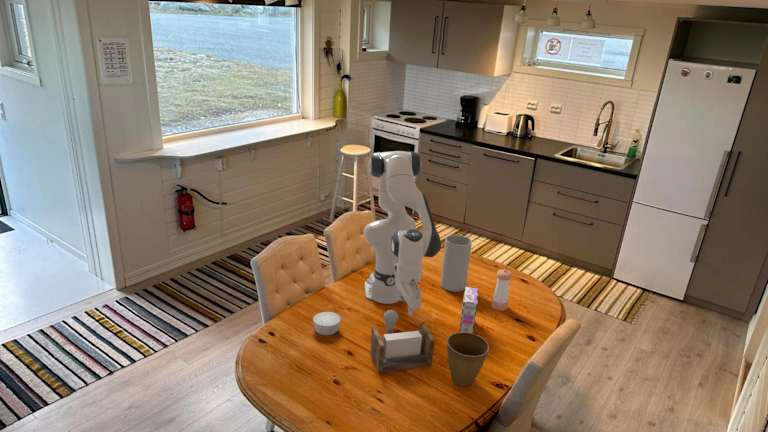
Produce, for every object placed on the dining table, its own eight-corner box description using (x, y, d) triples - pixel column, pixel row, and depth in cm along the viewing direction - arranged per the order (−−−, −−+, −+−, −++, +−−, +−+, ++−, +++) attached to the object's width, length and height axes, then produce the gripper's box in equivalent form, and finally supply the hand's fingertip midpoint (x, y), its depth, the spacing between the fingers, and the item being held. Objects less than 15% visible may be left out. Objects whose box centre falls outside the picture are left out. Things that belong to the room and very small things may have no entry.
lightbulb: (386, 339, 218) (388, 315, 214) (379, 331, 223) (381, 308, 219) (399, 336, 221) (401, 313, 217) (392, 328, 226) (394, 305, 222)
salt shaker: (506, 303, 252) (512, 266, 245) (508, 311, 245) (514, 274, 238) (490, 301, 252) (496, 265, 245) (492, 309, 246) (497, 272, 239)
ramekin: (307, 328, 222) (307, 317, 220) (327, 319, 229) (328, 308, 228) (325, 340, 215) (325, 329, 213) (345, 330, 222) (346, 319, 220)
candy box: (472, 338, 223) (477, 303, 217) (458, 335, 224) (463, 301, 218) (474, 320, 236) (478, 287, 230) (460, 318, 237) (465, 285, 231)
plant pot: (455, 397, 187) (460, 359, 182) (435, 372, 200) (439, 335, 194) (491, 388, 193) (497, 351, 188) (469, 364, 206) (474, 328, 200)
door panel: (381, 356, 205) (383, 334, 202) (416, 352, 209) (418, 330, 206) (384, 363, 202) (386, 340, 198) (419, 358, 206) (421, 336, 202)
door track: (370, 354, 208) (371, 327, 204) (420, 347, 214) (423, 322, 210) (378, 373, 197) (380, 345, 193) (431, 366, 203) (434, 339, 199)
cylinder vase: (448, 277, 272) (453, 232, 263) (470, 285, 266) (476, 239, 257) (435, 286, 263) (440, 240, 254) (458, 295, 256) (464, 247, 247)
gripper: (427, 287, 184) (423, 321, 189) (408, 260, 203) (405, 292, 208) (410, 288, 183) (406, 323, 188) (392, 262, 201) (390, 294, 206)
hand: (406, 307), depth 198 cm, fingers open, 8 cm apart
